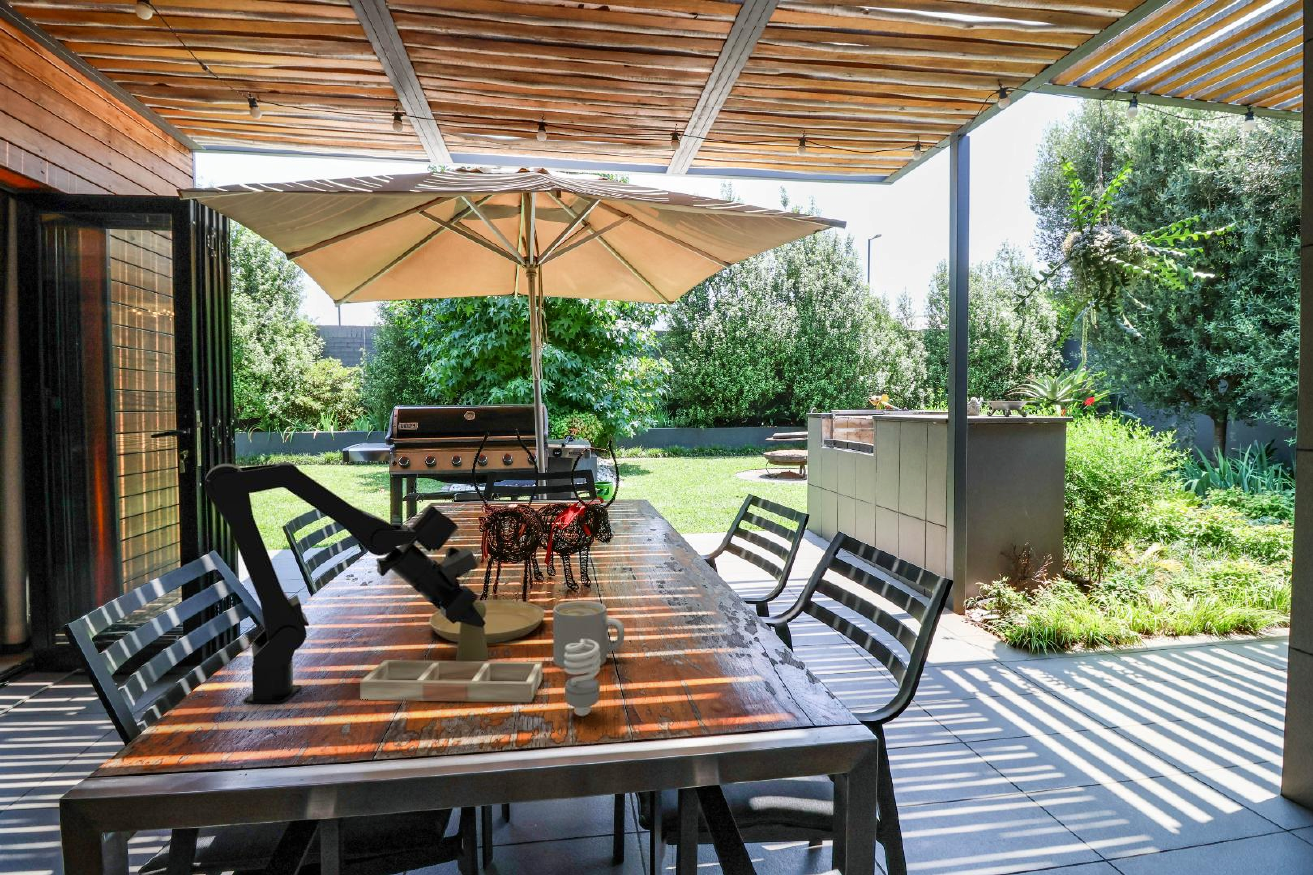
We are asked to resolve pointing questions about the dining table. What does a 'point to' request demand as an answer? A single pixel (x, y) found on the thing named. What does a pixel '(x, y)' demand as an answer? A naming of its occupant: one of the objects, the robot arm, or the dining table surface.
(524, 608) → the plant saucer
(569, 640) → the coffee mug
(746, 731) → the dining table surface
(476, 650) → the olive chess pawn
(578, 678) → the light bulb
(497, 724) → the dining table surface
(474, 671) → the rack
